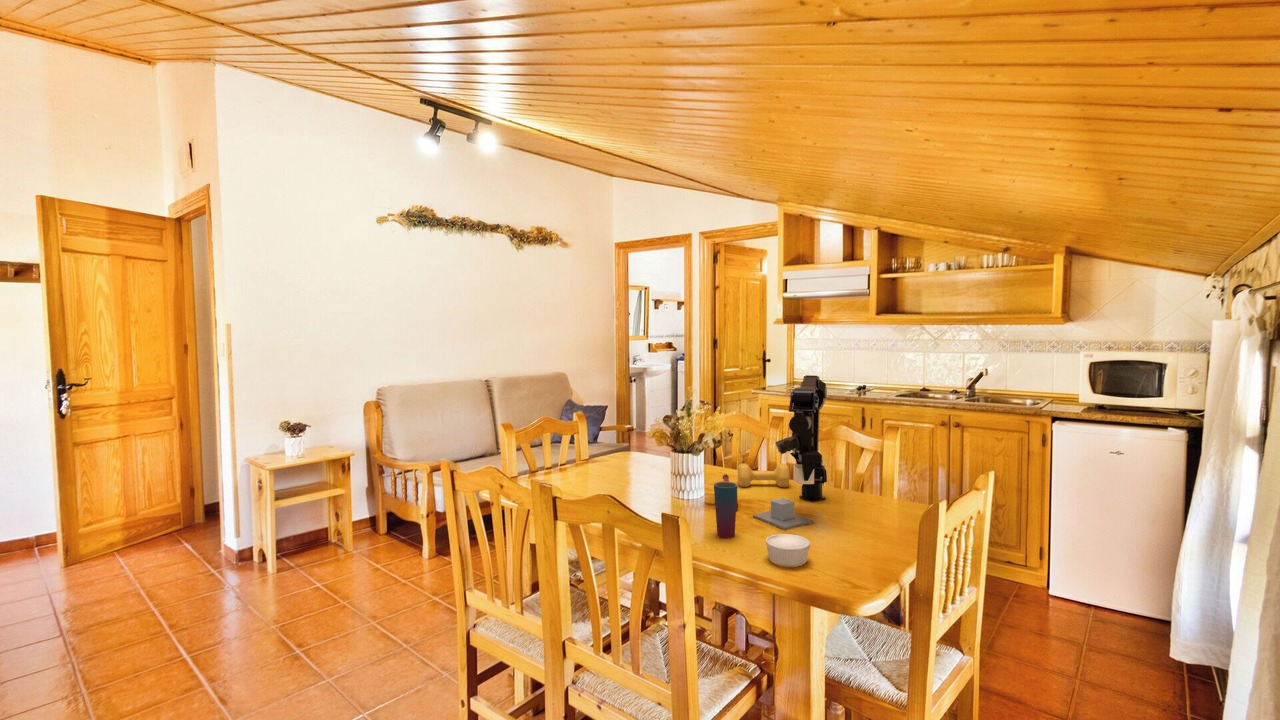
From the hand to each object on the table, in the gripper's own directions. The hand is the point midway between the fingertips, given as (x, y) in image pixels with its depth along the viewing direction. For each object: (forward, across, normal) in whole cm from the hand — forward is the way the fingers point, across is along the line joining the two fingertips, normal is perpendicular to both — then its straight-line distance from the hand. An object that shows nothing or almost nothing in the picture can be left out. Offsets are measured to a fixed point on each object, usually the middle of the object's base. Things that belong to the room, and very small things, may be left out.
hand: (803, 478), depth 191 cm
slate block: (+11, +2, -7) cm, 14 cm away
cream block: (+1, 0, 0) cm, 1 cm away
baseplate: (+12, +2, -7) cm, 14 cm away
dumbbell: (+12, -37, -5) cm, 39 cm away
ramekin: (+13, +33, -13) cm, 38 cm away
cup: (+13, +14, -26) cm, 33 cm away
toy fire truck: (+13, -12, -22) cm, 28 cm away
